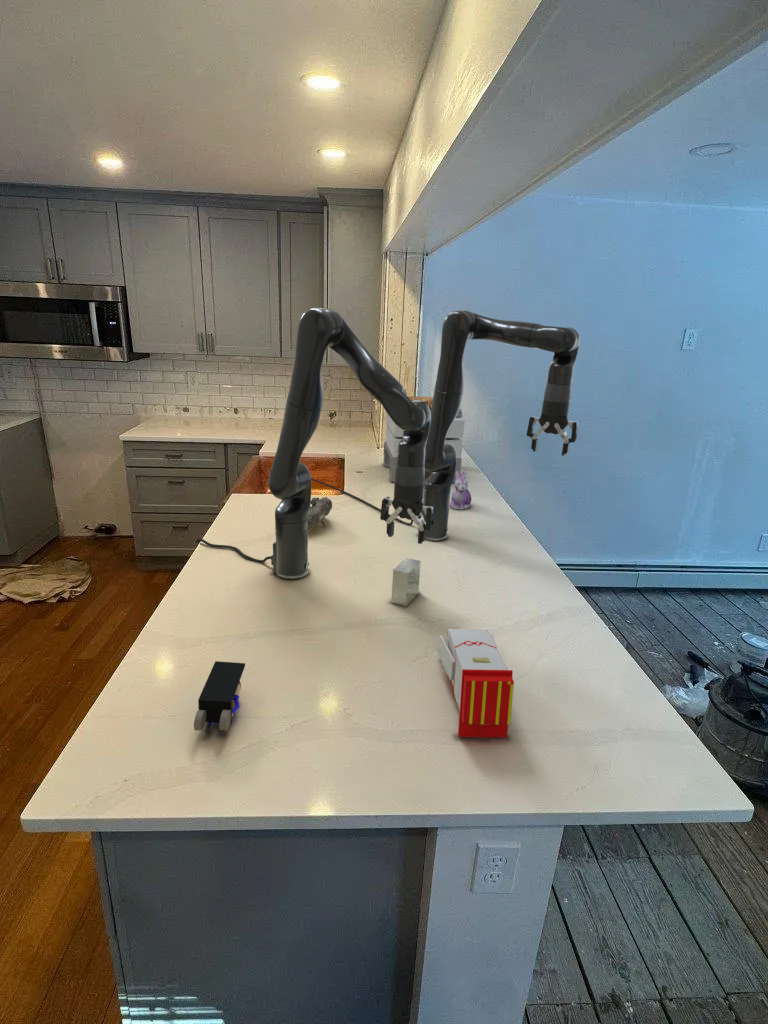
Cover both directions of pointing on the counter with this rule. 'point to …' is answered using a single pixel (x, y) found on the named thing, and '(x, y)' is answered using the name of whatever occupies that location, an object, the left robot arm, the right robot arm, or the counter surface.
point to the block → (405, 581)
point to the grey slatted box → (396, 434)
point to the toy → (478, 682)
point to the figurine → (461, 492)
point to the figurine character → (219, 696)
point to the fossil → (318, 511)
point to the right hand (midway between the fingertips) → (548, 453)
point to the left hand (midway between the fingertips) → (405, 539)
